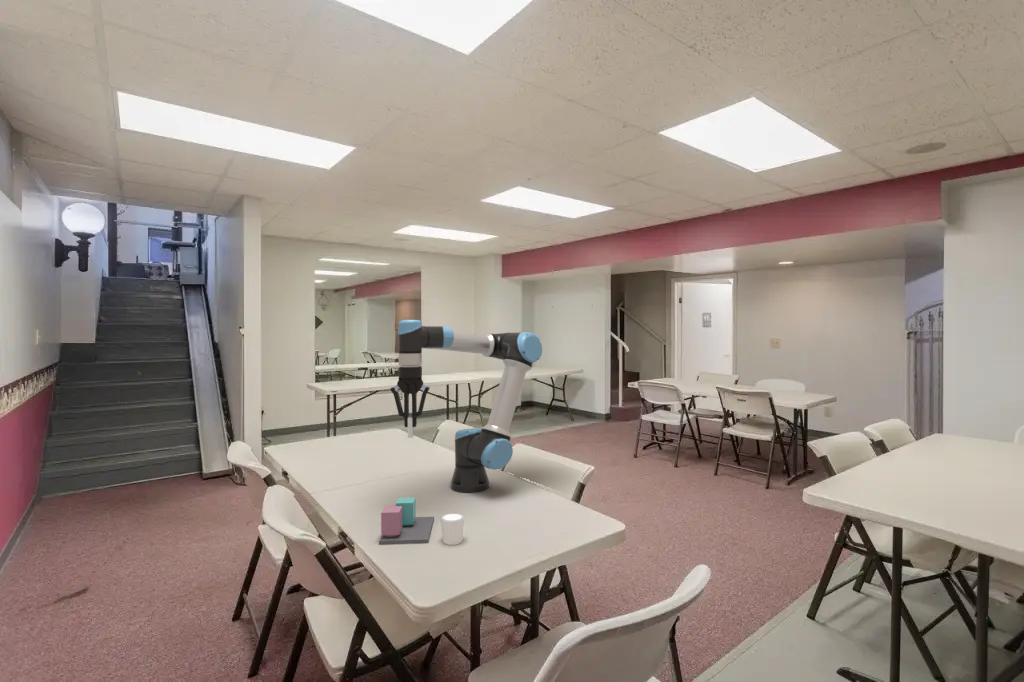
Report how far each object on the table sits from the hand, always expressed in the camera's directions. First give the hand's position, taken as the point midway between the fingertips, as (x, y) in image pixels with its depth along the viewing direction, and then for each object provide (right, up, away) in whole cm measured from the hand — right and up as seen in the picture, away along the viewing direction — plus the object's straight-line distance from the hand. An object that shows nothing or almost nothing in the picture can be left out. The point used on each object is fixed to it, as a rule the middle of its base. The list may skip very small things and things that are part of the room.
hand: (410, 436), depth 160 cm
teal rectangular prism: (+1, -24, -10) cm, 26 cm away
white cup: (+16, -27, -20) cm, 37 cm away
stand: (+2, -26, -13) cm, 29 cm away
